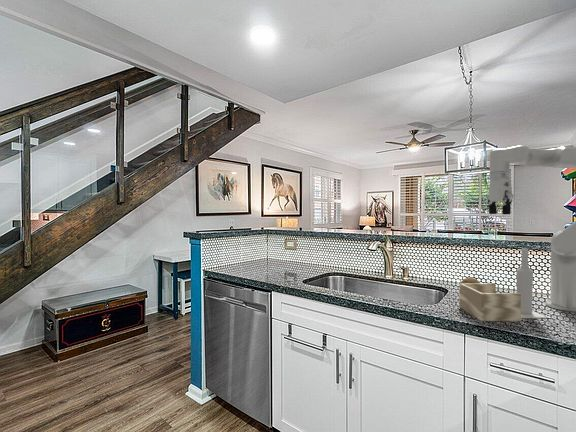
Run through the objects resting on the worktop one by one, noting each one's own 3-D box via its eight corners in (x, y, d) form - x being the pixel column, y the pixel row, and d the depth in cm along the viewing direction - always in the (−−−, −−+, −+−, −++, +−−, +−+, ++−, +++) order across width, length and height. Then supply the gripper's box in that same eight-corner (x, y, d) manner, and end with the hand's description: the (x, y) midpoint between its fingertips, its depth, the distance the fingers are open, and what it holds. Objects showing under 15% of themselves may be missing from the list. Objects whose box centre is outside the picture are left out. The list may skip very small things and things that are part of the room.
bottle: (513, 310, 126) (514, 247, 125) (529, 311, 124) (529, 248, 124) (519, 314, 121) (520, 249, 120) (535, 315, 119) (535, 249, 119)
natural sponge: (464, 295, 148) (464, 274, 148) (485, 299, 142) (485, 277, 141) (456, 299, 142) (456, 277, 142) (478, 303, 136) (478, 280, 135)
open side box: (494, 307, 131) (494, 283, 131) (520, 321, 115) (520, 293, 115) (459, 307, 131) (459, 283, 131) (481, 321, 115) (481, 293, 115)
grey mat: (527, 309, 127) (527, 308, 127) (547, 318, 117) (547, 317, 117) (502, 309, 128) (502, 308, 128) (519, 318, 118) (519, 317, 118)
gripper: (521, 174, 134) (521, 214, 134) (496, 178, 151) (496, 213, 152) (503, 174, 134) (502, 214, 135) (480, 178, 152) (480, 213, 152)
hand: (499, 214), depth 143 cm, fingers open, 9 cm apart
